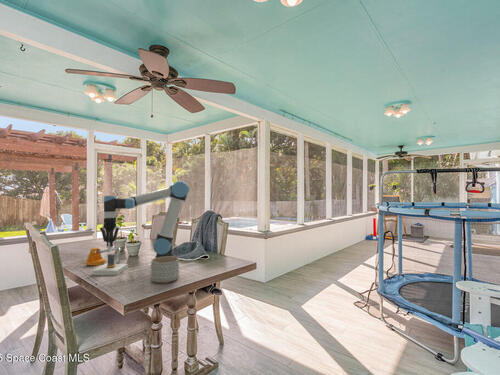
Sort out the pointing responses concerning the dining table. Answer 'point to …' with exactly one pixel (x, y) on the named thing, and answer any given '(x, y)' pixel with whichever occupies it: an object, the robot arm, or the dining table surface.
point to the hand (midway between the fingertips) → (109, 251)
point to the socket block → (109, 269)
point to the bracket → (94, 257)
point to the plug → (110, 260)
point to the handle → (116, 254)
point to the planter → (164, 269)
